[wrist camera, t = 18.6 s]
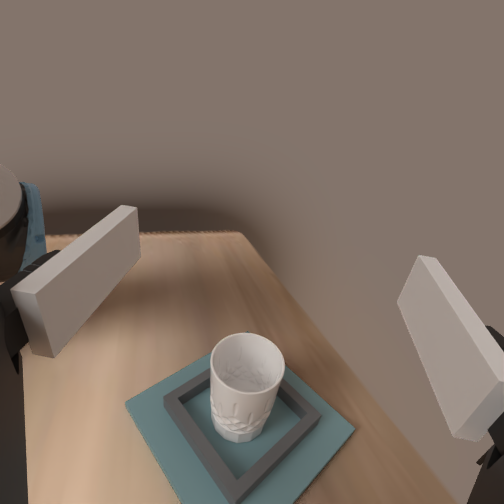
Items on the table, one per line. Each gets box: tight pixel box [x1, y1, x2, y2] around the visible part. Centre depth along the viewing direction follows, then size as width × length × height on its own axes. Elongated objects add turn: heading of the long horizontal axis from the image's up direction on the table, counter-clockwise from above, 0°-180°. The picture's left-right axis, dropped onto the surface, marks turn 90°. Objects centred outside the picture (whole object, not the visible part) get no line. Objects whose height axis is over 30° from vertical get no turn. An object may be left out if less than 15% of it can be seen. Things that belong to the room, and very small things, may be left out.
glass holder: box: [125, 331, 355, 504], centre depth 38 cm, size 20×20×3 cm
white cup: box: [210, 333, 285, 443], centre depth 36 cm, size 8×8×10 cm
